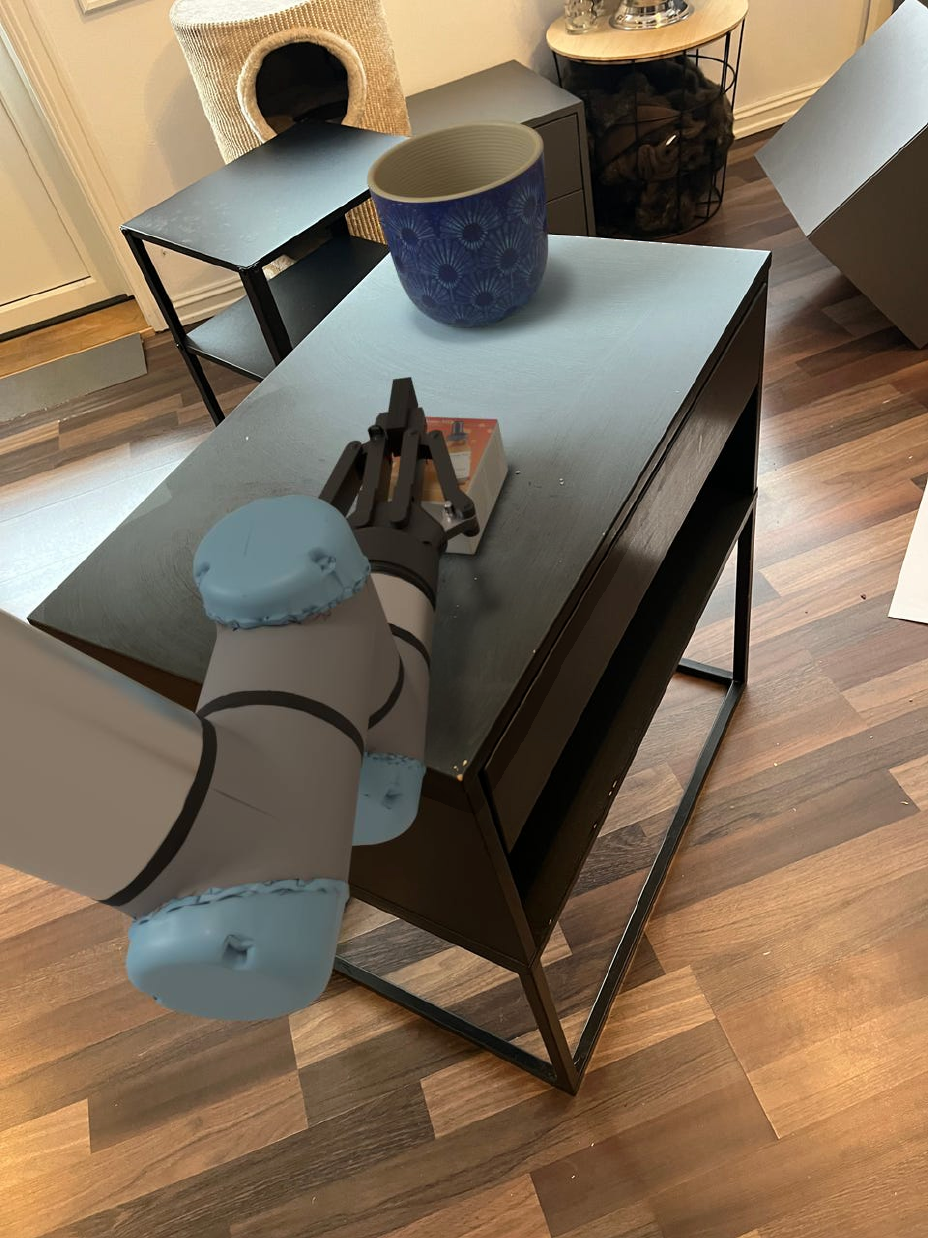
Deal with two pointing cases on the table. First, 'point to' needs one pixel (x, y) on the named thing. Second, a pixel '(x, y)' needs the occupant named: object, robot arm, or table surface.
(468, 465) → the small box
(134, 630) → the table surface
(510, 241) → the planter
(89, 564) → the table surface
